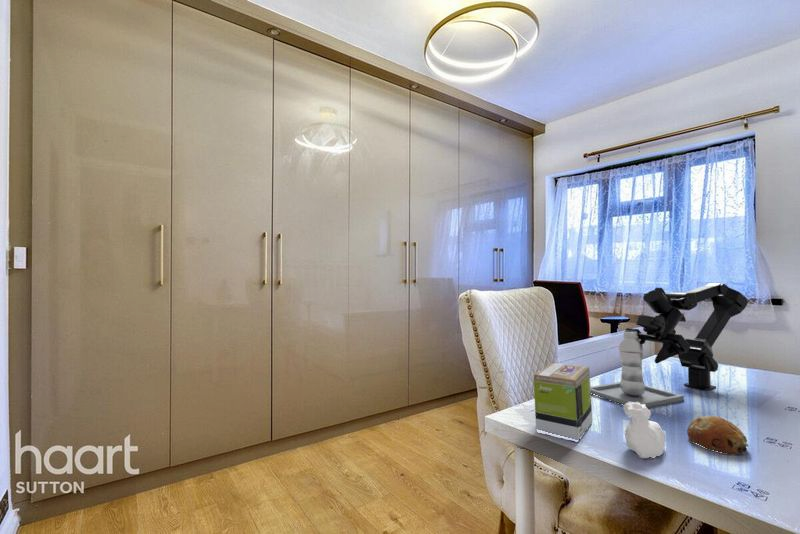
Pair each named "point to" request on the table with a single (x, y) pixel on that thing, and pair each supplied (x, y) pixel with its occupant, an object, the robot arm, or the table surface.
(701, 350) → the robot arm
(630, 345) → the plastic bottle
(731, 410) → the table surface
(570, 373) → the tea box
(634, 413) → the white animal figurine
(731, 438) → the bread roll
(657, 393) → the tray
